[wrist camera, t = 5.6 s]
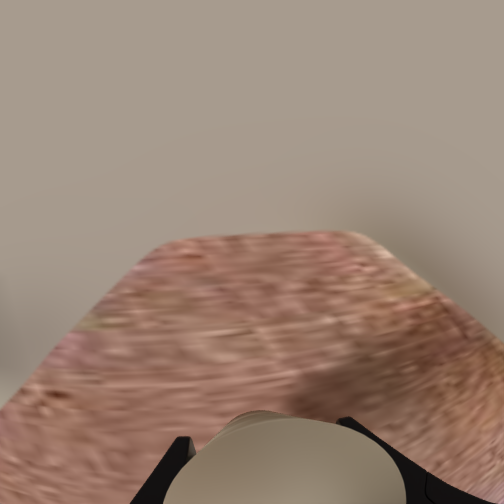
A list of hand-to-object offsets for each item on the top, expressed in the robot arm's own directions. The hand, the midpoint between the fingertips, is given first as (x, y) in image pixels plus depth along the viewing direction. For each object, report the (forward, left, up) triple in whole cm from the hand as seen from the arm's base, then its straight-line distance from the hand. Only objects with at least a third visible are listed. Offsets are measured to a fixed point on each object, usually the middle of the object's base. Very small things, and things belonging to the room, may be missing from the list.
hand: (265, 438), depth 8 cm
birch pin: (0, +1, -7) cm, 7 cm away
